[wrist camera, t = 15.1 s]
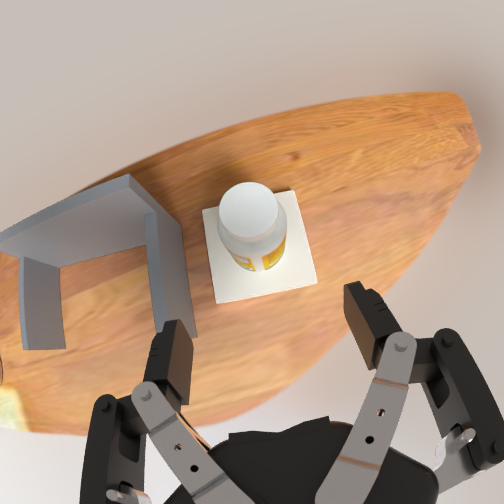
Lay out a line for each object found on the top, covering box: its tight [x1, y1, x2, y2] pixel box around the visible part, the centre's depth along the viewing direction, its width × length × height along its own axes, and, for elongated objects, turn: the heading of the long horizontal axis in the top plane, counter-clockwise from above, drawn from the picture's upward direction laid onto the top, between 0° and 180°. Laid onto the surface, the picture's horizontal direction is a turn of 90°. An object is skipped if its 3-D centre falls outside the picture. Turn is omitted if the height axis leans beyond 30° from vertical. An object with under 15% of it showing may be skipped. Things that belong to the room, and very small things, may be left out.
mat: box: [202, 190, 318, 304], centre depth 28 cm, size 10×10×1 cm
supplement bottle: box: [217, 182, 287, 272], centre depth 22 cm, size 5×5×10 cm
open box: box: [0, 173, 198, 350], centre depth 23 cm, size 20×12×12 cm, turn 101°
